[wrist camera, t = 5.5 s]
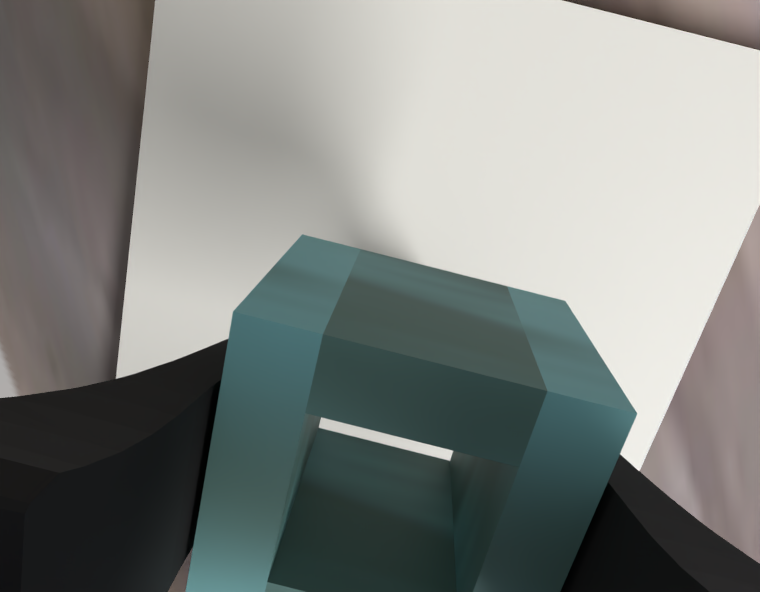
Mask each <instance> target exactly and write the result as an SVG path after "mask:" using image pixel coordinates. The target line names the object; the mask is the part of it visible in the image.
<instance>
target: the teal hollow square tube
mask: <svg viewBox="0 0 760 592" xmlns="http://www.w3.org/2000/svg"><path fill="white" fill-rule="evenodd" d="M636 416H637V412H636V411H635V409H634V408H633V406H632V404H631V403H630V401H629V400H628V398H627V397H626V395H625V393H624V392H623V390H622V389H621V387H620V386H619V384H618V383H617V381H616V379H615V378H614V376H613V375H612V373H611V372H610V370H609V368H608V367H607V365H606V364H605V362H604V361H603V359H602V357H601V356H600V354H599V353H598V351H597V350H596V348H595V347H594V345H593V343H592V342H591V340H590V339H589V337H588V336H587V334H586V332H585V331H584V329H583V328H582V326H581V325H580V323H579V321H578V320H577V318H576V317H575V315H574V314H573V312H572V311H571V309H570V307H569V306H568V304H567V303H566V301H564V300H560V299H556V298H552V297H548V296H544V295H540V294H536V293H532V292H528V291H525V290H521V289H517V288H513V287H509V286H505V285H501V284H497V283H493V282H489V281H485V280H481V279H477V278H473V277H469V276H465V275H461V274H457V273H453V272H449V271H445V270H442V269H438V268H434V267H430V266H426V265H422V264H418V263H414V262H410V261H406V260H402V259H398V258H394V257H390V256H386V255H382V254H378V253H374V252H370V251H366V250H362V249H358V248H355V247H351V246H347V245H343V244H339V243H335V242H331V241H327V240H323V239H319V238H315V237H311V236H307V235H303V234H302V235H301V236H300V237H299V238H298V240H297V241H296V242H295V243H294V244H293V245H292V246H291V247H290V248H289V250H288V251H287V252H286V253H285V254H284V255H283V256H282V257H281V259H280V260H279V261H278V262H277V263H276V264H275V265H274V266H273V267H272V269H271V270H270V271H269V272H268V273H267V274H266V275H265V276H264V277H263V279H262V280H261V281H260V282H259V283H258V284H257V285H256V286H255V288H254V289H253V290H252V291H251V292H250V293H249V294H248V295H247V296H246V298H245V299H244V300H243V301H242V302H241V303H240V304H239V305H238V306H237V308H236V309H235V310H234V311H233V314H232V320H231V326H230V332H229V338H228V344H227V350H226V356H225V362H224V368H223V374H222V380H221V385H220V391H219V397H218V403H217V409H216V415H215V421H214V427H213V433H212V439H211V445H210V450H209V456H208V462H207V468H206V474H205V480H204V486H203V492H202V498H201V504H200V510H199V516H198V521H197V527H196V533H195V539H194V545H193V551H192V557H191V563H190V569H189V575H188V581H187V587H186V592H560V591H561V589H562V587H563V584H564V582H565V580H566V577H567V575H568V573H569V570H570V568H571V566H572V563H573V561H574V559H575V557H576V554H577V552H578V550H579V547H580V545H581V543H582V540H583V538H584V536H585V533H586V531H587V529H588V527H589V524H590V522H591V520H592V517H593V515H594V513H595V510H596V508H597V506H598V504H599V501H600V499H601V497H602V494H603V492H604V490H605V487H606V485H607V483H608V480H609V478H610V476H611V474H612V471H613V469H614V467H615V464H616V462H617V460H618V457H619V455H620V453H621V450H622V448H623V446H624V444H625V441H626V439H627V437H628V434H629V432H630V430H631V427H632V425H633V423H634V420H635V418H636ZM321 417H322V418H326V419H329V420H333V421H337V422H341V423H345V424H349V425H353V426H357V427H361V428H365V429H369V430H373V431H377V432H381V433H385V434H389V435H393V436H397V437H401V438H405V439H409V440H413V441H417V442H421V443H425V444H428V445H432V446H436V447H440V448H444V449H448V450H452V451H453V453H452V456H451V459H450V461H449V460H445V459H441V458H437V457H433V456H429V455H425V454H421V453H417V452H413V451H409V450H405V449H401V448H397V447H393V446H390V445H386V444H382V443H378V442H374V441H370V440H366V439H362V438H358V437H354V436H350V435H346V434H342V433H338V432H334V431H330V430H326V429H322V428H319V424H320V420H321Z"/></svg>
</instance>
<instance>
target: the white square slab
mask: <svg viewBox="0 0 760 592" xmlns="http://www.w3.org/2000/svg"><path fill="white" fill-rule="evenodd" d="M759 204H760V50H756V49H752V48H748V47H744V46H740V45H736V44H732V43H728V42H724V41H720V40H717V39H713V38H709V37H705V36H701V35H697V34H693V33H689V32H685V31H681V30H677V29H673V28H669V27H665V26H661V25H657V24H653V23H649V22H646V21H642V20H638V19H634V18H630V17H626V16H622V15H618V14H614V13H610V12H606V11H602V10H598V9H594V8H590V7H586V6H582V5H579V4H575V3H571V2H567V1H563V0H155V8H154V18H153V27H152V37H151V46H150V56H149V66H148V75H147V85H146V94H145V104H144V114H143V123H142V133H141V142H140V152H139V162H138V171H137V181H136V190H135V200H134V210H133V219H132V229H131V238H130V248H129V258H128V267H127V277H126V286H125V296H124V305H123V315H122V325H121V334H120V344H119V353H118V363H117V373H116V379H117V378H121V377H125V376H128V375H132V374H135V373H138V372H141V371H144V370H147V369H150V368H153V367H156V366H159V365H162V364H165V363H168V362H171V361H174V360H176V359H179V358H182V357H184V356H187V355H189V354H192V353H194V352H197V351H199V350H202V349H204V348H207V347H209V346H211V345H214V344H216V343H219V342H221V341H224V340H226V339H228V338H229V332H230V326H231V320H232V314H233V311H234V310H235V309H236V308H237V306H238V305H239V304H240V303H241V302H242V301H243V300H244V299H245V298H246V296H247V295H248V294H249V293H250V292H251V291H252V290H253V289H254V288H255V286H256V285H257V284H258V283H259V282H260V281H261V280H262V279H263V277H264V276H265V275H266V274H267V273H268V272H269V271H270V270H271V269H272V267H273V266H274V265H275V264H276V263H277V262H278V261H279V260H280V259H281V257H282V256H283V255H284V254H285V253H286V252H287V251H288V250H289V248H290V247H291V246H292V245H293V244H294V243H295V242H296V241H297V240H298V238H299V237H300V236H301V235H302V234H303V235H307V236H311V237H315V238H319V239H323V240H327V241H331V242H335V243H339V244H343V245H347V246H351V247H355V248H358V249H362V250H366V251H370V252H374V253H378V254H382V255H386V256H390V257H394V258H398V259H402V260H406V261H410V262H414V263H418V264H422V265H426V266H430V267H434V268H438V269H442V270H445V271H449V272H453V273H457V274H461V275H465V276H469V277H473V278H477V279H481V280H485V281H489V282H493V283H497V284H501V285H505V286H509V287H513V288H517V289H521V290H525V291H528V292H532V293H536V294H540V295H544V296H548V297H552V298H556V299H560V300H564V301H566V303H567V304H568V306H569V307H570V309H571V311H572V312H573V314H574V315H575V317H576V318H577V320H578V321H579V323H580V325H581V326H582V328H583V329H584V331H585V332H586V334H587V336H588V337H589V339H590V340H591V342H592V343H593V345H594V347H595V348H596V350H597V351H598V353H599V354H600V356H601V357H602V359H603V361H604V362H605V364H606V365H607V367H608V368H609V370H610V372H611V373H612V375H613V376H614V378H615V379H616V381H617V383H618V384H619V386H620V387H621V389H622V390H623V392H624V393H625V395H626V397H627V398H628V400H629V401H630V403H631V404H632V406H633V408H634V409H635V411H636V412H637V416H636V418H635V420H634V423H633V425H632V427H631V430H630V432H629V434H628V437H627V439H626V441H625V444H624V446H623V448H622V450H621V453H620V455H622V456H623V457H624V458H625V459H626V460H627V461H628V462H629V463H631V464H632V465H633V466H634V467H635V468H636V469H637V470H638V471H640V468H641V466H642V464H643V462H644V460H645V457H646V455H647V453H648V451H649V448H650V446H651V444H652V442H653V440H654V437H655V435H656V433H657V431H658V429H659V426H660V424H661V422H662V420H663V417H664V415H665V413H666V411H667V409H668V406H669V404H670V402H671V400H672V397H673V395H674V393H675V391H676V389H677V386H678V384H679V382H680V380H681V378H682V375H683V373H684V371H685V369H686V366H687V364H688V362H689V360H690V358H691V355H692V353H693V351H694V349H695V346H696V344H697V342H698V340H699V338H700V335H701V333H702V331H703V329H704V326H705V324H706V322H707V320H708V318H709V315H710V313H711V311H712V309H713V307H714V304H715V302H716V300H717V298H718V295H719V293H720V291H721V289H722V287H723V284H724V282H725V280H726V278H727V275H728V273H729V271H730V269H731V267H732V264H733V262H734V260H735V258H736V256H737V253H738V251H739V249H740V247H741V244H742V242H743V240H744V238H745V236H746V233H747V231H748V229H749V227H750V224H751V222H752V220H753V218H754V216H755V213H756V211H757V209H758V207H759ZM319 428H322V429H326V430H330V431H334V432H338V433H342V434H346V435H350V436H354V437H358V438H362V439H366V440H370V441H374V442H378V443H382V444H386V445H390V446H393V447H397V448H401V449H405V450H409V451H413V452H417V453H421V454H425V455H429V456H433V457H437V458H441V459H445V460H449V461H450V459H451V456H452V453H453V451H452V450H448V449H444V448H440V447H436V446H432V445H428V444H425V443H421V442H417V441H413V440H409V439H405V438H401V437H397V436H393V435H389V434H385V433H381V432H377V431H373V430H369V429H365V428H361V427H357V426H353V425H349V424H345V423H341V422H337V421H333V420H329V419H326V418H322V417H321V420H320V424H319Z"/></svg>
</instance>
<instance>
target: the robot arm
mask: <svg viewBox="0 0 760 592" xmlns="http://www.w3.org/2000/svg"><path fill="white" fill-rule="evenodd" d="M227 344H228V339H226V340H224V341H221V342H219V343H216V344H214V345H211V346H209V347H207V348H204V349H202V350H199V351H197V352H194V353H192V354H189V355H187V356H184V357H182V358H179V359H176V360H174V361H171V362H168V363H165V364H162V365H159V366H156V367H153V368H150V369H147V370H144V371H141V372H138V373H135V374H132V375H128V376H125V377H121V378H117V379H114V380H110V381H105V382H101V383H97V384H92V385H88V386H83V387H78V388H73V389H66V390H59V391H53V392H46V393H39V394H32V395H25V396H18V397H8V398H0V592H168V590H169V588H170V586H171V584H172V582H173V581H174V579H175V577H176V575H177V573H178V571H179V569H180V567H181V566H182V564H183V562H184V561H185V559H186V557H187V556H188V554H189V552H190V551H191V549H192V547H193V545H194V539H195V533H196V527H197V521H198V516H199V510H200V504H201V498H202V492H203V486H204V480H205V474H206V468H207V462H208V456H209V450H210V445H211V439H212V433H213V427H214V421H215V415H216V409H217V403H218V397H219V391H220V385H221V380H222V374H223V368H224V362H225V356H226V350H227ZM560 592H760V564H759V563H758V562H756V561H755V560H753V559H752V558H750V557H749V556H747V555H746V554H744V553H743V552H742V551H740V550H739V549H737V548H736V547H734V546H733V545H732V544H730V543H729V542H727V541H726V540H724V539H723V538H721V537H720V536H719V535H717V534H716V533H714V532H713V531H712V530H710V529H709V528H708V527H706V526H705V525H704V524H702V523H701V522H700V521H698V520H697V519H696V518H695V517H693V516H692V515H691V514H690V513H688V512H687V511H686V510H685V509H683V508H682V507H681V506H680V505H678V504H677V503H676V502H675V501H673V500H672V499H671V498H670V497H669V496H667V495H666V494H665V493H664V492H663V491H661V490H660V489H659V488H658V487H657V486H656V485H654V484H653V483H652V482H651V481H650V480H649V479H648V478H646V477H645V476H644V475H643V474H642V473H641V472H640V471H638V470H637V469H636V468H635V467H634V466H633V465H632V464H631V463H629V462H628V461H627V460H626V459H625V458H624V457H623V456H622V455H619V457H618V460H617V462H616V464H615V467H614V469H613V471H612V474H611V476H610V478H609V480H608V483H607V485H606V487H605V490H604V492H603V494H602V497H601V499H600V501H599V504H598V506H597V508H596V510H595V513H594V515H593V517H592V520H591V522H590V524H589V527H588V529H587V531H586V533H585V536H584V538H583V540H582V543H581V545H580V547H579V550H578V552H577V554H576V557H575V559H574V561H573V563H572V566H571V568H570V570H569V573H568V575H567V577H566V580H565V582H564V584H563V587H562V589H561V591H560Z"/></svg>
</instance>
